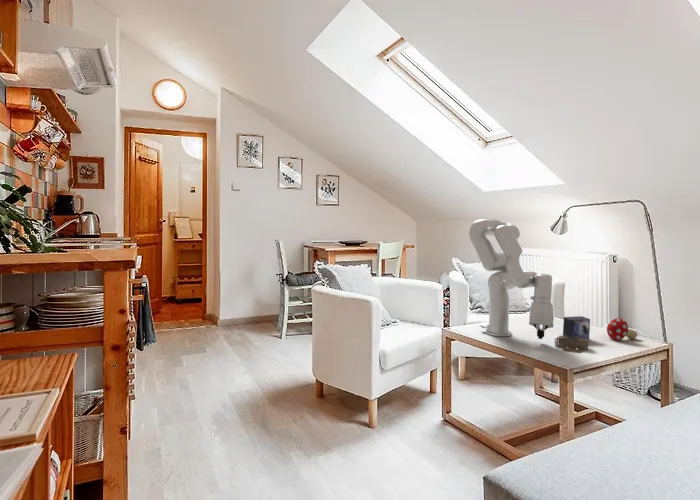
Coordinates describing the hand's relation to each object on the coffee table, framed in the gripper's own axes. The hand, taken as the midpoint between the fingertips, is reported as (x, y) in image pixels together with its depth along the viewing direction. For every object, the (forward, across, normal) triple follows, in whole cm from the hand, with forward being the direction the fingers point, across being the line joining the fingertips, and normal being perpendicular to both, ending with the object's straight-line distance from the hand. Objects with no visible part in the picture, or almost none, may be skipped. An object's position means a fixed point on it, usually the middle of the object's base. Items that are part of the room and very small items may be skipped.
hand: (540, 338), depth 215 cm
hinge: (+2, +14, 0) cm, 14 cm away
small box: (+2, +14, +17) cm, 22 cm away
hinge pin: (+2, +14, 0) cm, 14 cm away
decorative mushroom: (+2, +34, +26) cm, 43 cm away
